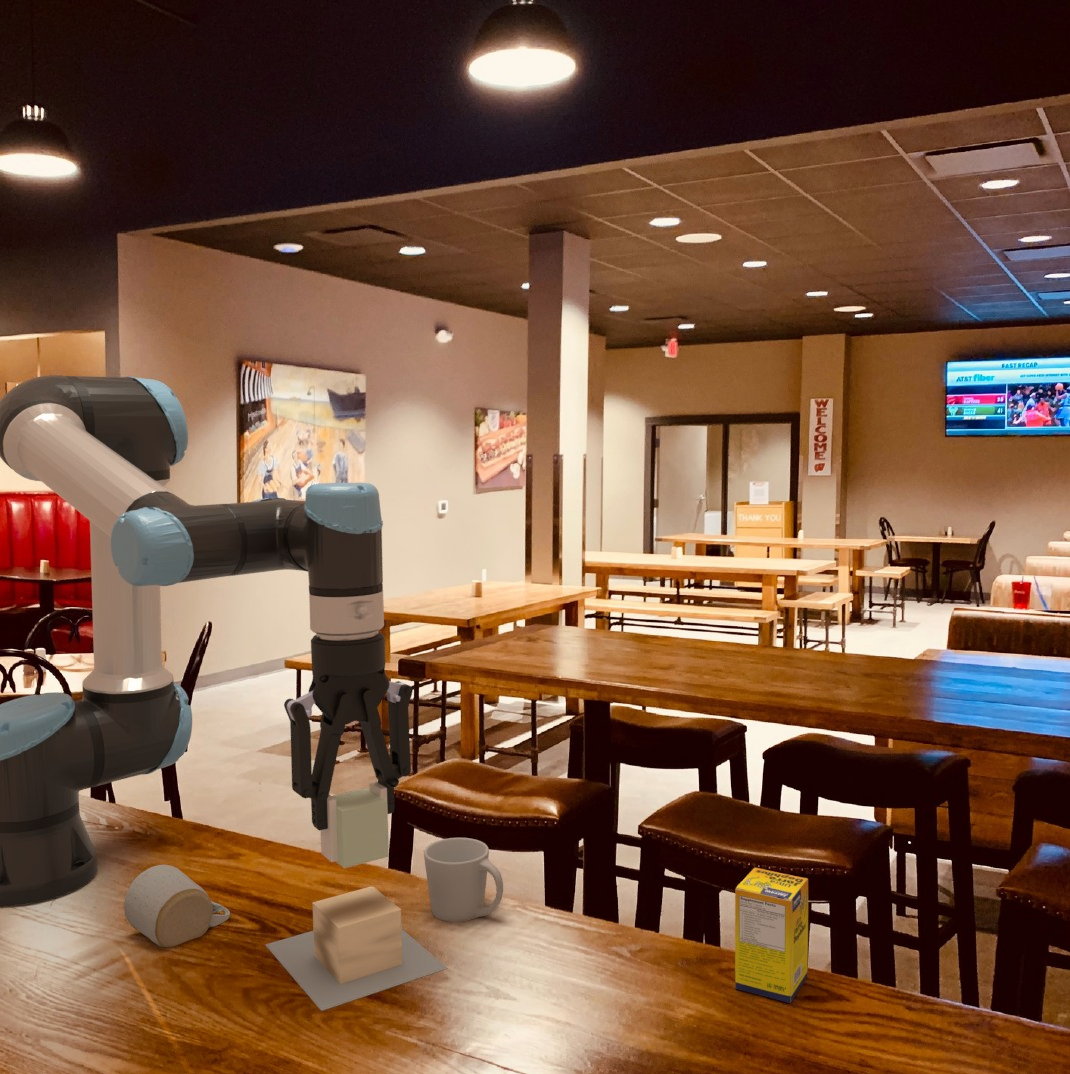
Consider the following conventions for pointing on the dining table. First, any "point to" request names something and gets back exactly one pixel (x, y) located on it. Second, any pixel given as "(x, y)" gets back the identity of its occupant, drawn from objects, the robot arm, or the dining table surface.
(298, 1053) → the dining table surface
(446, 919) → the cup
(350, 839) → the sage block
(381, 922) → the base block
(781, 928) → the supplement box
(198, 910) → the ceramic mug
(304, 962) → the board
